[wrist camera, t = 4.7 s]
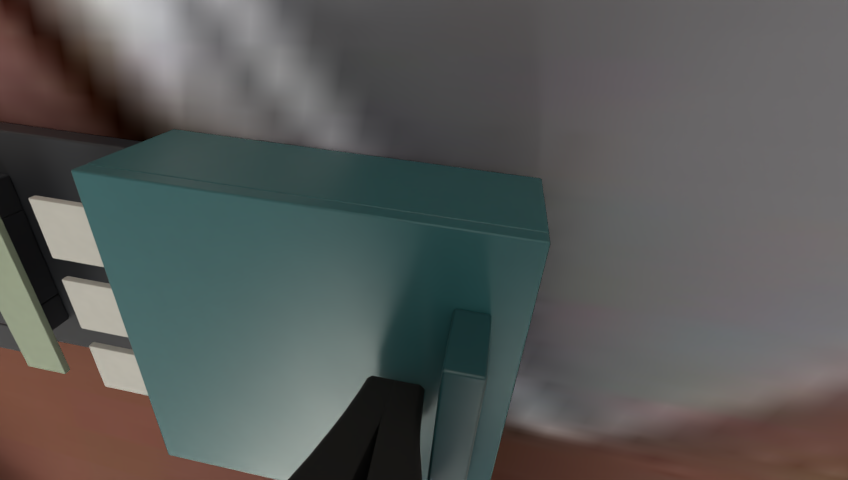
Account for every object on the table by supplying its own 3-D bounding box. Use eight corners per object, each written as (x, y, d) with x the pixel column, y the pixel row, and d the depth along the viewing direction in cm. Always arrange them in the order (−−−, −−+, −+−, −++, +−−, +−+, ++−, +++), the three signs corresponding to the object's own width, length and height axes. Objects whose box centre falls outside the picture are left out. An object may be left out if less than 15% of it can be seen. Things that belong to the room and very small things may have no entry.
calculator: (323, 165, 12) (282, 202, 10) (332, 382, 16) (305, 440, 14) (-142, 101, 14) (-261, 120, 12) (-26, 310, 18) (-98, 352, 16)
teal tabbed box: (485, 431, 16) (473, 599, 11) (226, 378, 17) (125, 511, 13) (542, 177, 11) (559, 301, 7) (173, 128, 12) (-21, 204, 8)
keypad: (291, 420, 14) (288, 426, 14) (36, 366, 15) (30, 370, 15) (269, 232, 10) (266, 236, 10) (-58, 179, 12) (-67, 182, 11)
